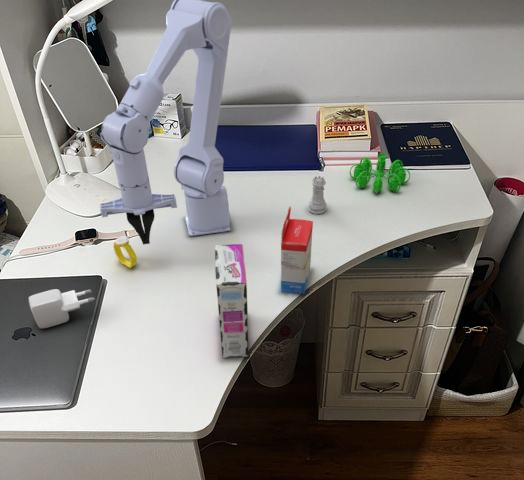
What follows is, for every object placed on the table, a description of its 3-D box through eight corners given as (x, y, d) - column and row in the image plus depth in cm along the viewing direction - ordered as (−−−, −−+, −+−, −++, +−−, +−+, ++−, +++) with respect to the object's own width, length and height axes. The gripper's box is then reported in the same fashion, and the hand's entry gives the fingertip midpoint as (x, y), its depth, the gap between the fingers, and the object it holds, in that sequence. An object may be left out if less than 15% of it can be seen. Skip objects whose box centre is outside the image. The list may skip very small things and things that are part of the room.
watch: (141, 267, 113) (136, 243, 109) (131, 273, 111) (125, 249, 107) (124, 256, 116) (118, 232, 111) (114, 261, 114) (107, 238, 110)
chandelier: (345, 193, 133) (348, 167, 128) (352, 165, 143) (355, 140, 138) (407, 199, 130) (412, 173, 125) (409, 170, 140) (414, 144, 135)
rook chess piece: (304, 212, 127) (306, 181, 121) (311, 203, 130) (312, 172, 124) (323, 216, 125) (325, 184, 120) (328, 206, 128) (331, 175, 123)
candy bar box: (250, 357, 94) (247, 283, 82) (222, 359, 94) (214, 285, 82) (246, 315, 102) (243, 242, 90) (220, 317, 101) (213, 243, 90)
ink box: (304, 295, 105) (307, 231, 95) (280, 292, 106) (280, 228, 96) (310, 269, 111) (314, 206, 101) (287, 267, 112) (288, 204, 101)
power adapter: (94, 300, 105) (86, 276, 101) (99, 315, 102) (92, 291, 98) (36, 317, 102) (25, 293, 98) (39, 333, 99) (29, 309, 95)
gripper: (94, 195, 97) (110, 257, 107) (174, 185, 99) (183, 247, 109) (94, 177, 102) (109, 238, 112) (170, 168, 104) (179, 228, 114)
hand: (146, 241), depth 111 cm, fingers closed
